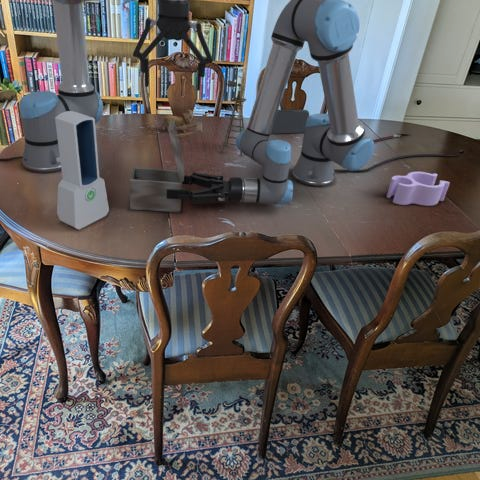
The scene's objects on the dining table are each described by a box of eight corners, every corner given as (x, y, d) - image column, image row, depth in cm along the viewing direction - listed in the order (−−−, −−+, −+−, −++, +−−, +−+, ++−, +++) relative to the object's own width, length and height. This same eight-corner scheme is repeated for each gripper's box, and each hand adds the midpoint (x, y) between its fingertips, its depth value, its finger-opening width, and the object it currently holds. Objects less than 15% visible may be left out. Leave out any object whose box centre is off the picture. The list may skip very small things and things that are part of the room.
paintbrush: (406, 132, 223) (406, 130, 222) (411, 134, 221) (412, 132, 220) (362, 144, 207) (363, 141, 206) (368, 146, 205) (368, 143, 204)
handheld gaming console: (303, 130, 212) (307, 109, 207) (306, 132, 210) (310, 111, 205) (256, 132, 205) (259, 109, 200) (259, 134, 203) (261, 111, 197)
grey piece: (168, 130, 126) (200, 125, 126) (170, 119, 134) (200, 114, 134) (180, 182, 135) (210, 177, 135) (181, 169, 142) (209, 164, 142)
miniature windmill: (241, 156, 181) (249, 76, 164) (220, 152, 182) (226, 73, 165) (246, 147, 188) (254, 71, 172) (225, 144, 189) (231, 68, 173)
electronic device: (76, 231, 126) (63, 124, 110) (57, 222, 129) (42, 116, 113) (110, 214, 135) (103, 112, 119) (91, 206, 138) (82, 105, 122)
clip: (400, 208, 156) (406, 189, 152) (379, 191, 165) (384, 173, 162) (448, 203, 162) (455, 186, 158) (425, 187, 172) (431, 170, 168)
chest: (130, 209, 139) (129, 180, 133) (133, 195, 146) (133, 166, 141) (180, 212, 140) (181, 183, 135) (181, 198, 148) (182, 170, 143)
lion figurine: (191, 128, 201) (192, 107, 196) (194, 132, 197) (195, 111, 192) (157, 129, 196) (157, 108, 192) (160, 134, 192) (160, 112, 187)
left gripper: (119, -5, 109) (123, 87, 120) (226, 5, 111) (219, 94, 123) (123, -8, 115) (127, 80, 126) (224, 1, 118) (219, 86, 129)
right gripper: (243, 218, 136) (165, 215, 133) (238, 185, 154) (169, 181, 151) (245, 195, 132) (165, 191, 129) (240, 164, 150) (169, 160, 147)
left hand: (172, 87), depth 125 cm, fingers open, 13 cm apart
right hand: (167, 186), depth 140 cm, fingers closed on chest, 9 cm apart
